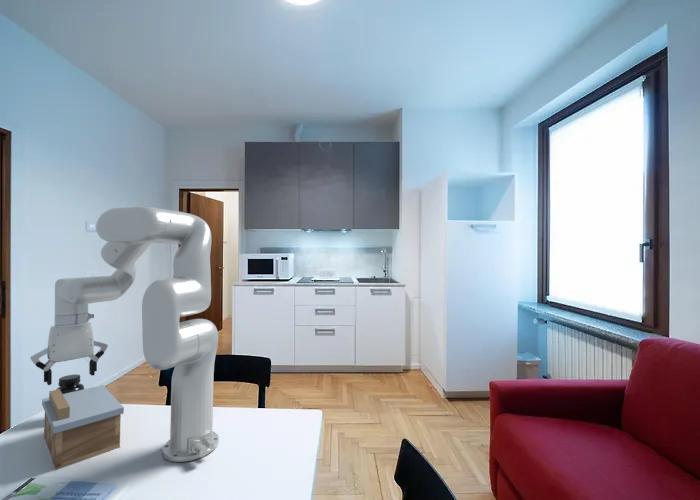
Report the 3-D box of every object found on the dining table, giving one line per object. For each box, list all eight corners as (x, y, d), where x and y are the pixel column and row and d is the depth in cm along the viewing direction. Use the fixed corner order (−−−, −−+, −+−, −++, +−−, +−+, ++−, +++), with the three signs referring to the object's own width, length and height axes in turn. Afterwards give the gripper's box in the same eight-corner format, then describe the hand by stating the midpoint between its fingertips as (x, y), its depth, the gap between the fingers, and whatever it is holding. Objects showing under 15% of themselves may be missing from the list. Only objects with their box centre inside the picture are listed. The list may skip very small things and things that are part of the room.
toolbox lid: (123, 413, 82) (124, 397, 82) (53, 433, 72) (54, 415, 73) (102, 390, 96) (103, 376, 96) (42, 404, 86) (42, 389, 87)
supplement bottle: (89, 414, 99) (90, 373, 99) (65, 425, 92) (67, 382, 92) (70, 411, 100) (72, 372, 100) (46, 422, 93) (47, 380, 94)
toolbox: (119, 447, 82) (120, 414, 82) (55, 470, 73) (56, 433, 73) (100, 420, 95) (101, 392, 95) (43, 436, 86) (44, 405, 86)
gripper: (104, 314, 106) (104, 368, 105) (29, 323, 93) (28, 384, 92) (110, 317, 101) (110, 373, 100) (32, 326, 88) (31, 391, 87)
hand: (71, 379), depth 96 cm, fingers open, 9 cm apart
